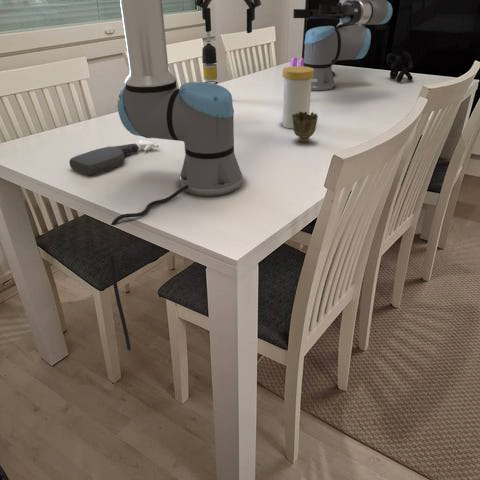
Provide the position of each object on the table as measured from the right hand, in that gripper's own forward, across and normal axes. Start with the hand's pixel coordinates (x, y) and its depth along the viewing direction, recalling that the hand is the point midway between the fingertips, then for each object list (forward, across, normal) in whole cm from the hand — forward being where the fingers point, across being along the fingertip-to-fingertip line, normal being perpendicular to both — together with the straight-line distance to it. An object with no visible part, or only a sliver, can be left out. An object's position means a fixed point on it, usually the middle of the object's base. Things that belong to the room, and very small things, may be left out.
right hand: (306, 11), depth 146 cm
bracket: (-43, +57, -21) cm, 74 cm away
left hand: (+28, +4, -6) cm, 28 cm away
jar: (+10, -8, -35) cm, 37 cm away
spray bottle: (+70, -5, -38) cm, 80 cm away
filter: (+18, +37, -28) cm, 50 cm away
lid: (+11, -10, -18) cm, 23 cm away
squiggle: (-67, +17, -25) cm, 74 cm away
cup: (+18, -22, -37) cm, 47 cm away
